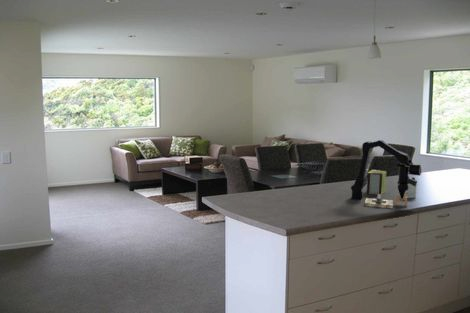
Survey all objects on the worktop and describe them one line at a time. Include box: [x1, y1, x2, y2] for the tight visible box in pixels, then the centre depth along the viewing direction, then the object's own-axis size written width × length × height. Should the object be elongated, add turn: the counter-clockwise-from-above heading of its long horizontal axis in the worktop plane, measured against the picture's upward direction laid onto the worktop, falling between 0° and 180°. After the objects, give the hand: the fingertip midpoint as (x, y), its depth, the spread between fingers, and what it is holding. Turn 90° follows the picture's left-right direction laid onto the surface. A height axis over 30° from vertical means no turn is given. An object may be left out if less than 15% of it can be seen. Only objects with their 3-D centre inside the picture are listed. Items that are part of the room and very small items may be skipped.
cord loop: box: [395, 195, 408, 207], centre depth 319 cm, size 6×3×10 cm, turn 73°
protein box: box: [366, 169, 387, 196], centre depth 357 cm, size 10×15×16 cm
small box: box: [404, 178, 418, 199], centre depth 345 cm, size 8×6×13 cm
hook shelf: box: [364, 194, 394, 209], centre depth 320 cm, size 17×15×6 cm
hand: (401, 197), depth 319 cm, fingers open, 7 cm apart
